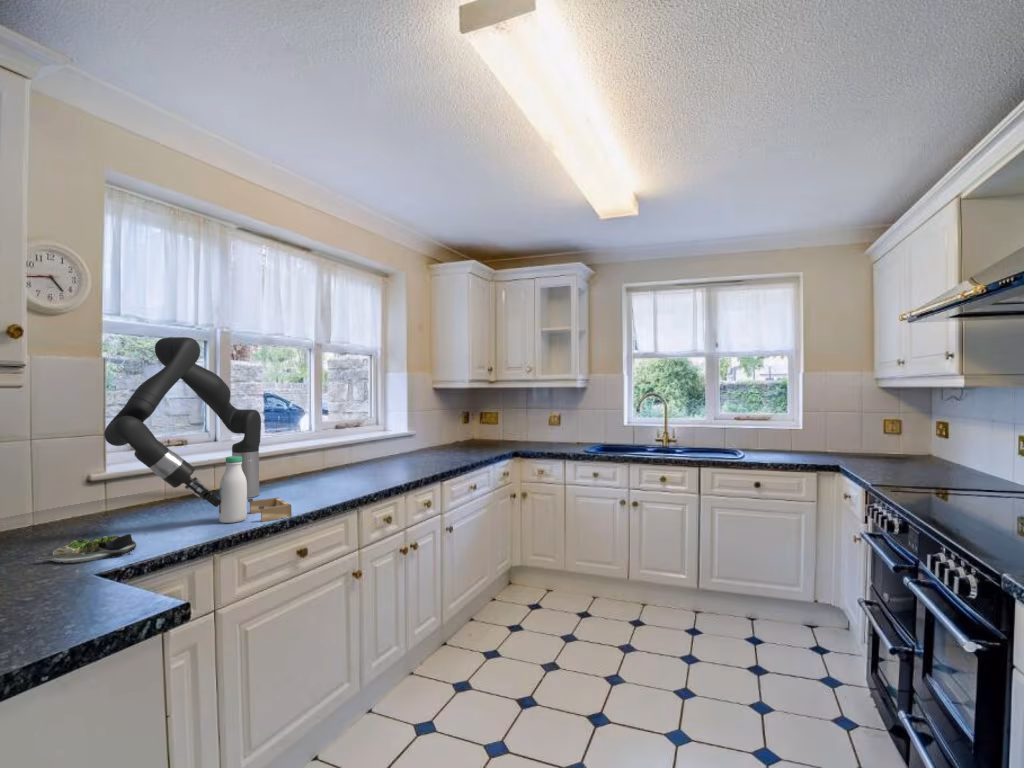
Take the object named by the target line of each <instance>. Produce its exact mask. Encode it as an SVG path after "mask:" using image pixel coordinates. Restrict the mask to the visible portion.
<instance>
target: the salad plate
mask: <svg viewBox="0 0 1024 768" xmlns="http://www.w3.org/2000/svg"><path fill="white" fill-rule="evenodd" d="M136 547H137V542H136V541H135V540H134V539H133V537H132V534H131V533H128V534H125V535H122V536H119V535H107V536H106V535H105V536H102V537H101V536H99V537H97V538H95V539H94V540H87V539H84V538H83V539H80V540H73V541H71V542H70V543H69V544H66V545H64V546H63V545H62V546H60V547H59V548H56V549H54V550H53V551H52V554H49V555H48V554H47V555H41V556H39V557H37V559H38V561H51V562H55V563H61V562H63V563H64V564H76V563H77V562H80V563H85V562H84V561H87V562H91V561H90V560H92V561H96V560H95V559H98V560H102V559H101V558H104V559H109V558H108V557H110V558H113V557H112V556H115V557H119V556H118V555H120V556H123V555H122V554H124V555H126V554H125V553H127V554H129V553H131V552H133V551H135V549H136ZM132 550H133V551H132ZM130 551H131V552H130ZM128 552H129V553H128ZM77 564H78V563H77Z"/></svg>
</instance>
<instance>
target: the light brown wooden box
mask: <svg viewBox="0 0 1024 768" xmlns="http://www.w3.org/2000/svg"><path fill="white" fill-rule="evenodd" d="M247 503H249V514H251V515H253V514H259V513H260V521H261V523H264V522H265V521H266V522H271V521H270V520H272V521H276V520H275V519H278V520H282V519H281V518H285V519H287V518H286V517H291V518H292V504H290V503H289V502H287V501H286V500H283V499H281V498H279V497H271V498H264V499H257V500H254V499H253V498H247Z"/></svg>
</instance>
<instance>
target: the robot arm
mask: <svg viewBox="0 0 1024 768" xmlns="http://www.w3.org/2000/svg"><path fill="white" fill-rule="evenodd" d="M154 353H155V356H156V358H157V360H158V361H159V362H160V363H161V365H163V366H164V367H163V368H162V369H161V370H159V371H158V372H156V373H155V374H154V375H152V376H151V377H149V378H147V379H146V380H145V381H143V382H142V383H141V384H140V385H139V386H138V387H137V388H136V389H135V391H133V394H132V395H131V396H130V398H129V399H128V401H126V404H124V406H123V408H122V409H120V411H119V412H118V413H117V414H116V415H115V416H114V418H113V419H112V420H111V421H110V422H109V423H108V425H107V426H106V427H105V429H104V434H103V435H104V436H103V437H104V439H105V441H106V442H107V443H108V444H110V445H112V446H114V447H115V446H116V447H121V446H125V445H127V444H129V446H131V447H132V449H133V450H134V453H133V454H134V457H135V458H136V459H137V460H138V461H139V462H141V463H142V464H144V465H145V466H146V467H147V468H149V469H150V470H151V471H152V472H153V473H154V474H155V475H156V476H158V477H160V478H161V480H163V481H164V482H166V483H167V485H170V486H171V487H172V488H179V487H180V486H181V485H183V484H184V485H185V486H184V488H185V489H186V490H188V492H191V493H193V494H194V495H195V496H196V497H199V498H202V499H203V500H204V501H207V502H208V503H209V504H211V505H212V506H213V507H216V508H217V507H219V504H220V503H221V501H220V500H219V498H218V497H216V496H215V495H214V494H213V492H212V491H210V490H209V489H208V487H207V486H206V485H205V484H204V483H202V481H201V480H200V479H198V478H197V476H195V477H193V478H192V477H191V476H192V475H193V474H194V472H195V467H194V466H193V465H192V464H190V463H189V462H187V460H185V459H184V458H182V457H181V456H180V455H178V454H177V452H175V451H172V450H171V449H170V448H168V447H167V446H166V445H164V444H163V443H162V442H161V441H159V440H158V439H157V438H156V436H155V435H154V434H153V433H152V431H151V430H150V428H149V427H147V425H146V424H145V423H144V422H145V421H146V420H147V419H148V418H150V417H151V415H152V414H153V413H154V411H156V409H157V408H158V406H159V404H160V403H161V401H162V400H163V399H164V397H165V396H166V395H167V393H168V392H169V391H170V390H171V389H172V388H173V387H174V386H175V384H176V383H178V381H179V380H182V382H184V383H185V384H186V385H187V386H188V387H189V388H190V389H191V390H192V391H193V392H194V393H195V394H196V395H197V396H198V397H199V399H201V400H202V401H203V402H204V403H205V404H206V405H207V406H208V407H209V408H210V409H211V410H212V412H214V413H215V414H216V415H217V417H218V418H219V419H220V421H221V422H222V423H223V425H224V426H225V427H226V428H227V430H228V431H230V432H231V433H233V434H238V435H239V434H243V435H244V436H243V438H242V439H241V440H240V441H238V442H236V443H234V444H232V447H231V456H241V457H242V464H241V467H242V471H243V473H244V475H245V477H246V481H247V499H251V498H255V497H258V496H259V495H260V451H259V450H260V445H261V444H260V443H261V433H262V430H261V429H262V417H261V414H260V412H259V411H258V410H256V409H239V408H236V407H235V406H233V404H232V403H231V395H232V394H231V389H230V387H229V386H228V384H226V382H225V381H224V380H223V379H222V378H221V377H220V376H219V375H217V374H216V373H215V372H213V371H211V370H209V369H207V368H205V367H203V366H201V365H199V364H197V362H198V360H199V359H200V356H201V347H200V344H199V342H198V341H197V340H196V339H195V338H193V337H185V336H183V337H182V336H181V337H180V336H178V337H175V336H169V337H164V338H160V339H159V340H158V341H157V342H156V343H155V345H154Z"/></svg>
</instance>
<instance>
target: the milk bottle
mask: <svg viewBox="0 0 1024 768" xmlns="http://www.w3.org/2000/svg"><path fill="white" fill-rule="evenodd" d="M241 464H242V457H241V456H232V455H230V456H227V457H225V465H226V467H225V471H224V473H223V475H222V477H221V480H220V483H219V496H218V497H219V498H218V499H219V500H220V501H221V503H220V504H219V505H218V521H219V523H224V524H225V523H226V524H227V523H228V524H230V523H239V522H243V521H245V520H246V519H247V517H248V513H247V512H248V511H247V510H248V498H247V481H246V477H245V475H244V473H243V471H242V467H241Z"/></svg>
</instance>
